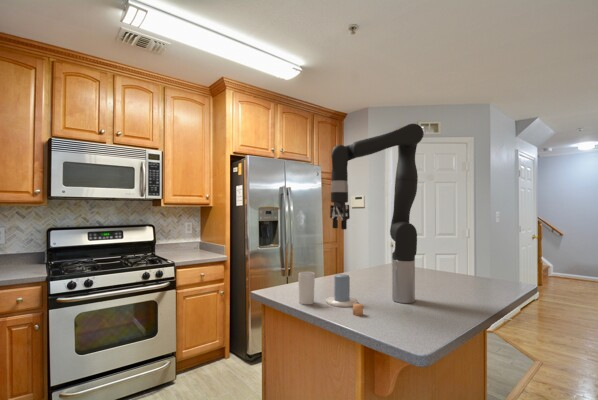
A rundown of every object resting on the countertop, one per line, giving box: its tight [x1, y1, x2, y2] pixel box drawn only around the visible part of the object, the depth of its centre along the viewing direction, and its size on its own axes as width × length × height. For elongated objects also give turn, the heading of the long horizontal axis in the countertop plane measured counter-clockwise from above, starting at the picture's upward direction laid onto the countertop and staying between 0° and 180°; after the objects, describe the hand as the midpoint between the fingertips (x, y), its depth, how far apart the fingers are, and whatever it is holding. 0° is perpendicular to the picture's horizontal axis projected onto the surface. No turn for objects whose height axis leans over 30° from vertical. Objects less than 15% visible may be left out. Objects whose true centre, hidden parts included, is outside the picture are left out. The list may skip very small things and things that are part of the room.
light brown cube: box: [352, 303, 364, 317], centre depth 120 cm, size 4×4×4 cm
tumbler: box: [333, 273, 351, 302], centre depth 135 cm, size 6×6×10 cm
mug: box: [297, 271, 316, 306], centre depth 136 cm, size 10×7×12 cm, turn 10°
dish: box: [325, 295, 359, 308], centre depth 135 cm, size 13×13×1 cm
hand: (339, 228), depth 141 cm, fingers open, 8 cm apart
